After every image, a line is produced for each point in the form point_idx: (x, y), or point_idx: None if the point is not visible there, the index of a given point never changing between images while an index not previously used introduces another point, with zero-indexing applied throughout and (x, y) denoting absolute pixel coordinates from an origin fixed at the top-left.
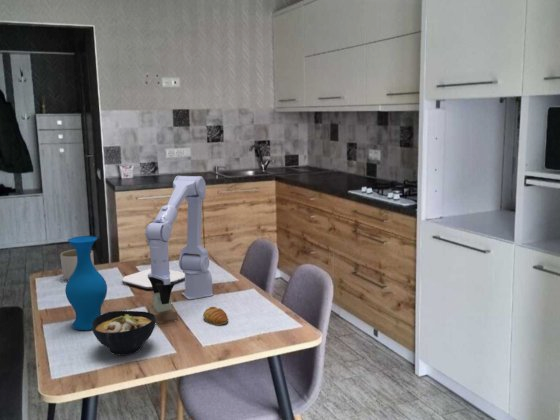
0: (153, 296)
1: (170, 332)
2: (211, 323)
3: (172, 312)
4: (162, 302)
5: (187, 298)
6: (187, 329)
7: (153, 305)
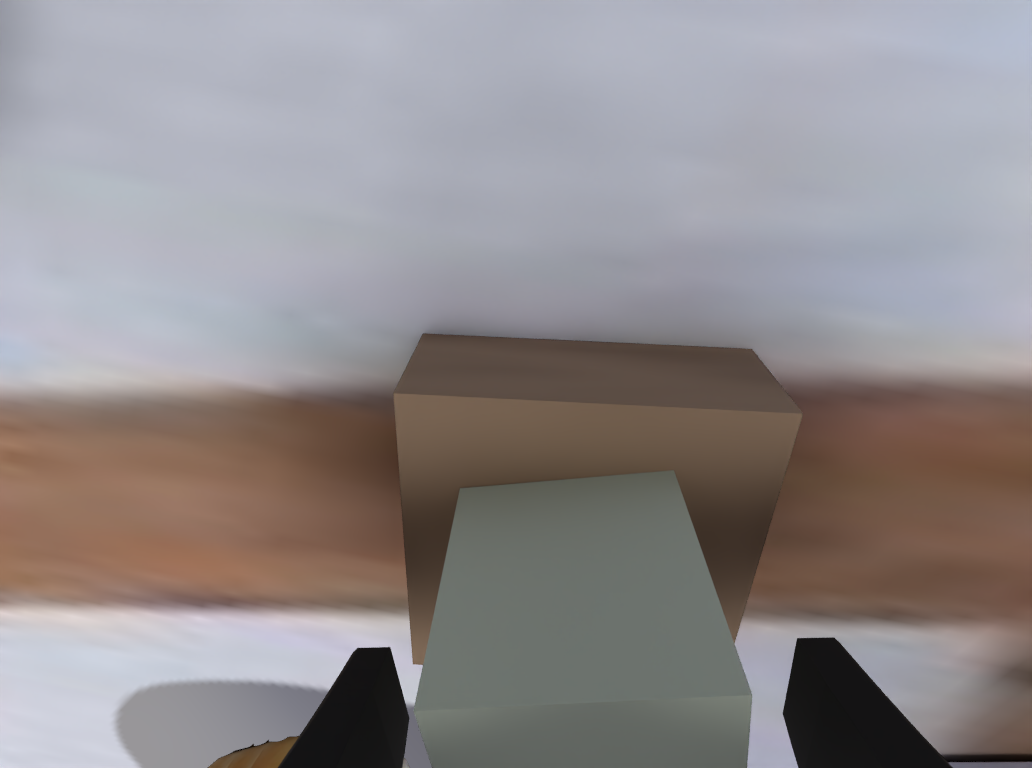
0: (681, 652)
1: (117, 456)
2: (254, 748)
3: (410, 621)
4: (334, 683)
5: (963, 766)
6: (171, 592)
7: (678, 503)
